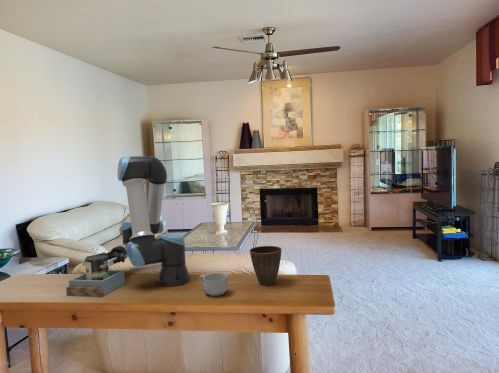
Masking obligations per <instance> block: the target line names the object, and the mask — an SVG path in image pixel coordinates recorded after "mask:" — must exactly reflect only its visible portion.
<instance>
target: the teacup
mask: <svg viewBox="0 0 499 373" xmlns="http://www.w3.org/2000/svg"><path fill="white" fill-rule="evenodd" d="M228 278H229V277H228V274H227V273H225V272H221V271H220V272H217V271H216V272H210V273H207V274H201V275H200V276H199V282H200V284H201V285H203V289H204V292H205V293H206V294H208V296H211V297H218V296H221V295H224V293H225V292H226V291H227V290H228V287H229V285H228V284H229V283H228V282H229V280H228Z"/></svg>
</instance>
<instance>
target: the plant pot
mask: <svg viewBox="0 0 499 373" xmlns="http://www.w3.org/2000/svg"><path fill="white" fill-rule="evenodd" d="M249 255H250V259H251V263H252V268H253V270H254V273H255V276H256V278H257V280H258V282H259V283H258V284H260V285H262V286H272V285H274V284H275V283H276V282H277V278H278V275H279V270H280V264H281V260H282V258H281V257H282V248H281V247H279V246H275V245H274V246H273V245H262V246H256V247H252V248H250V249H249Z"/></svg>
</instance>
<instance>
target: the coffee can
mask: <svg viewBox="0 0 499 373" xmlns="http://www.w3.org/2000/svg"><path fill="white" fill-rule="evenodd" d="M93 255H94V256H92V255H88V256H89V257H87V256H86V257H84V259H85V266H84V267H85V273H86V280H100V281H102V280H104V279H106V278H108V277H109V270H110V267H108V262H107V261H108V255H96V254H93Z"/></svg>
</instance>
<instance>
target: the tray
mask: <svg viewBox="0 0 499 373" xmlns="http://www.w3.org/2000/svg"><path fill="white" fill-rule="evenodd" d="M125 277H126V275H125V270H124V269H119V270H118V269H109V277H108V278H106V279H104V280H102V281H100V280H86V272H84V273H82V274H79V275H77V276H76V277H73V278H71V279H69V280H68V286H72V287H99V288H104V296H106V295H107V294H109V293H112V292H113V291H114V290H116V289H118V288H119V287H122V286H123V285H125V284H126V280H125Z"/></svg>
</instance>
